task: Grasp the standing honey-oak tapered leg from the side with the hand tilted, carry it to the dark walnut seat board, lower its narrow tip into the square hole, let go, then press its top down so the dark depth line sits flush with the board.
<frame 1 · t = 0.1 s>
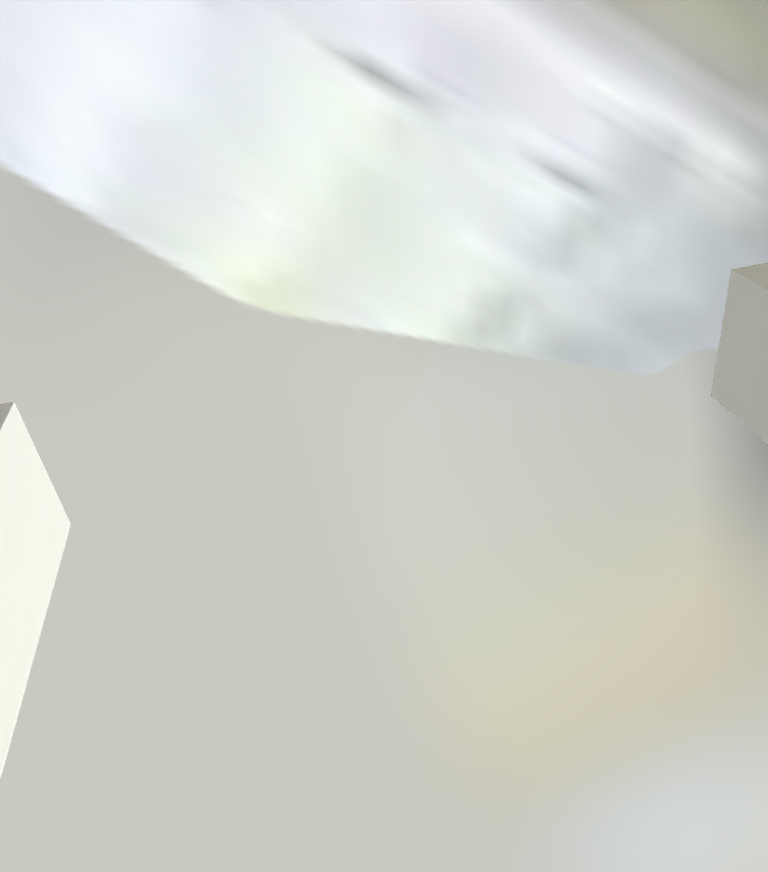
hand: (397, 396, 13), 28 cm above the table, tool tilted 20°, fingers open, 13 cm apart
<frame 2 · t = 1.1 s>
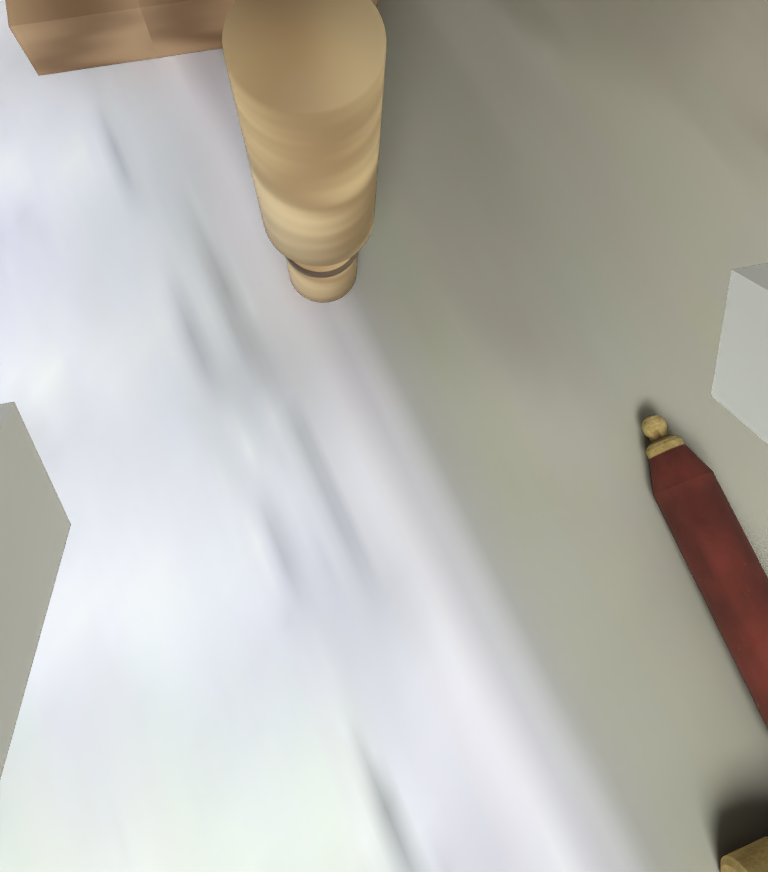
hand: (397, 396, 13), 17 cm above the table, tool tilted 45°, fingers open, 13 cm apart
gavel: (741, 648, 30), on the table
peg: (323, 270, 32), on the table
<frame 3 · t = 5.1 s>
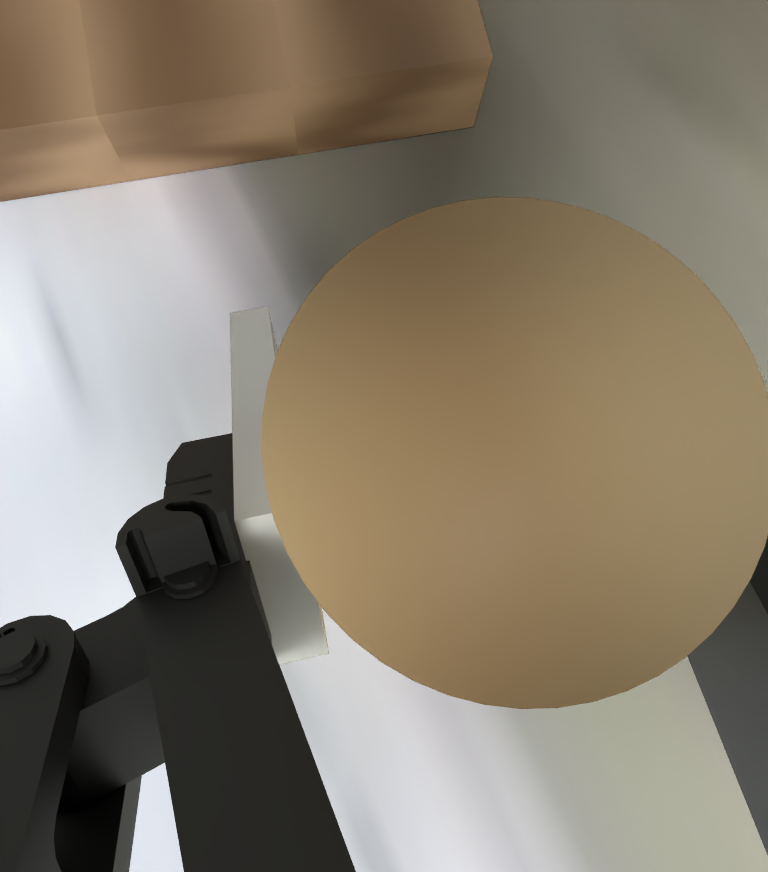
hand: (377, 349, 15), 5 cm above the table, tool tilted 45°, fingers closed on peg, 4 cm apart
peg: (398, 543, 19), on the table, touching gripper
when the fingers open (8 cm above the table, at t = 10.9 s): peg drops 2 cm, on the table.
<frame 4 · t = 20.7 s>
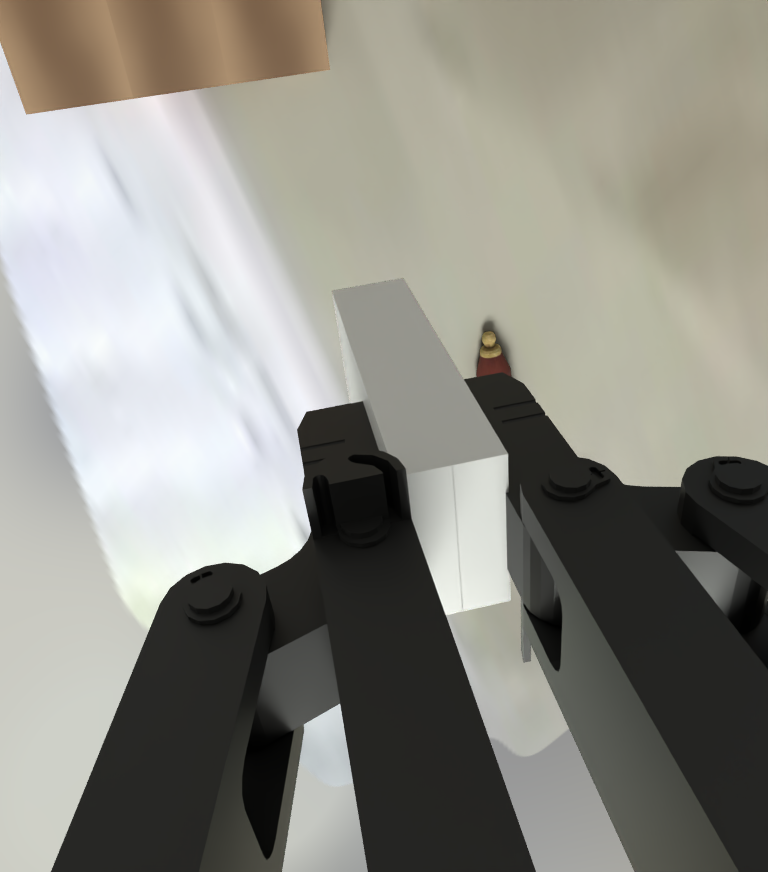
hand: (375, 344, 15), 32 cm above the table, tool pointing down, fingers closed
gavel: (496, 439, 59), on the table
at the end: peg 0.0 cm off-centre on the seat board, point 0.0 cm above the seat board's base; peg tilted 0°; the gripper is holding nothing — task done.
